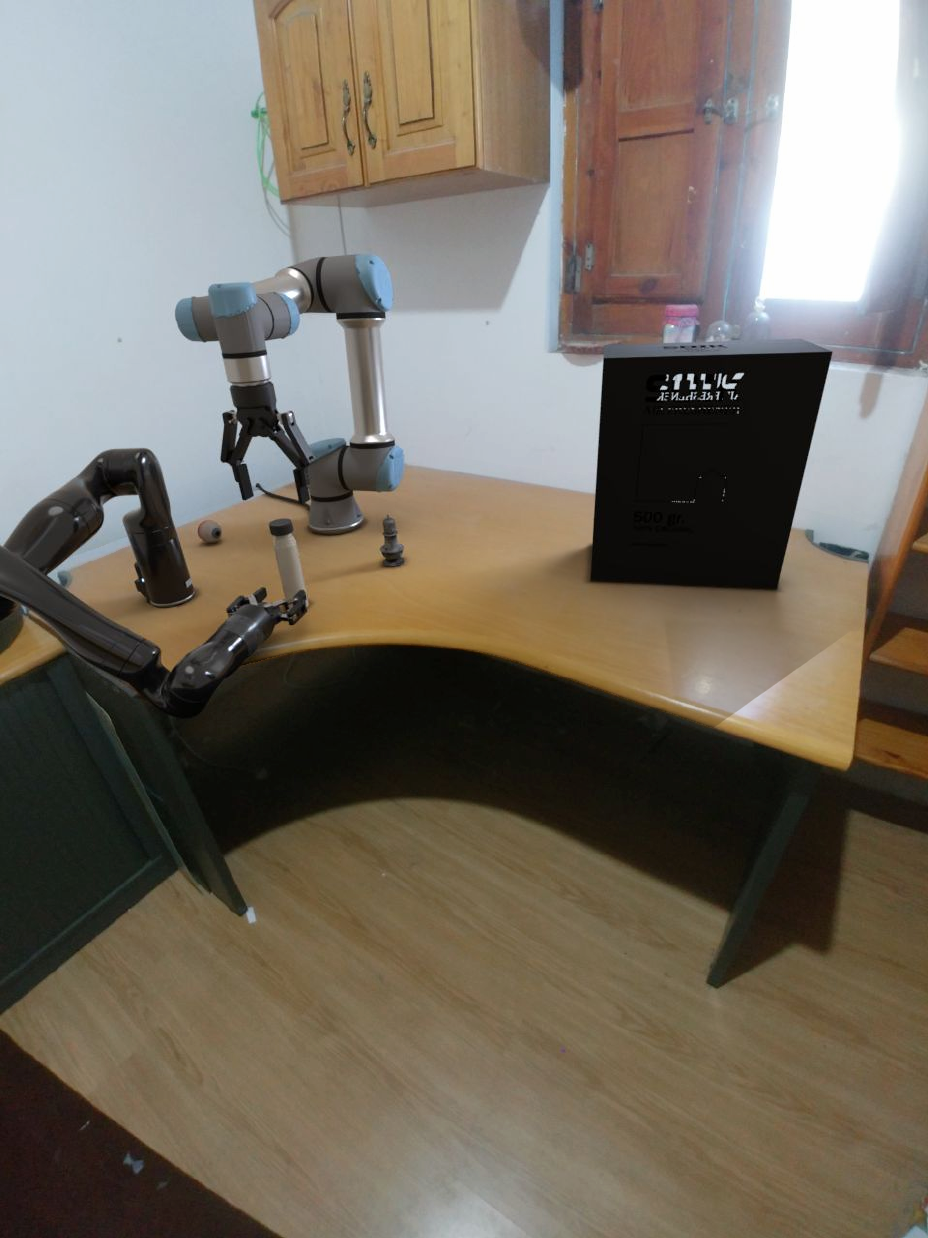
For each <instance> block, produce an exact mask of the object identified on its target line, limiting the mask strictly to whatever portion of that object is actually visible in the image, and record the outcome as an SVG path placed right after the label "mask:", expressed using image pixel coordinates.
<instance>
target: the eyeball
mask: <svg viewBox="0 0 928 1238" xmlns="http://www.w3.org/2000/svg"><path fill="white" fill-rule="evenodd" d="M222 534H223V529H222V527H221V525H220V524H219V523H218V522H217V521H215V520H212V519H207V520H204V521H202V522H201V523H200V524H199V525H198V527H197V535H198V538H199V539H201V540H202V541H203V542H205V543H208V544H213V543H216V542H218V541H219V540H220V539H221V538H222Z"/></svg>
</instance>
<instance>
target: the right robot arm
mask: <svg viewBox="0 0 928 1238" xmlns="http://www.w3.org/2000/svg"><path fill="white" fill-rule="evenodd" d="M207 294H208V295H205V296H195V295H194V296H190V297H184V298H182V299H180V300H179V301H178V302H177V303H176V305H175V310H174V319H175V322H176V325H177V328H178V330H179V332H180V334H181V335H182V336H183V337H184V338H186V340H188V341H191V342H197V343H198V342H202V343H207V342H218V343H219V346H220V350H221V357H222V361H223V366H224V371H225V376H226V380H227V382H228V383H230V384H231V385H230V387H229V392H230V396H231V401H232V406H233V407H234V408H236V411H235V410H234V409H230V410H227V411H224V412H222V413H221V416H222V422H223V431H222V439H221V447H220V449H221V450H220V456H219V457H220V458H219V459H220V462H221V463H222V464H225V463H226V464H228V465H229V466H230V467H231V469H232V474H233V478H234V481H235V482H236V483H238V487H239V492H240V495H241V496H240V497H241V500H242V501H248V500H250V499H252V498H253V497H255V495H254V490H253V486H252V483H251V482H252V481H251V477H250V473H249V469H248V464H247V463H244V462H245V460H244V458H245V457H246V454H247V451H248V449H249V446H250V444H251V442H252V439H253V438H257V437H261V438H268V439H269V440H270V441H272V442H274V443H275V445H276V446H277V447H278V448H279V449H280V451H281V452H282V453H283V454H284V455H285V456H286V458H287V459H288V460H289V462H290V463H291V464H292V465H293V466H294V467H295V468H294V469H292V474H293V479H294V485H295V490H296V495H297V499H295V498H291V497H287V496H283V495H280V494H276V493H274V492H273V493H272V492H270V491H268V490H266V489H265V488H263V487H262V486H261V484H260V483H259V482H256V483H255V487H256V488H258V489H259V491H260V492H262V493H264V494H265V495H267V496H270V497H272V498H276V499H280V500H283V501H288V502H291V503H295V504H298V505H302V506H304V507H306V508H307V509H308V510H309V513H308V521H307V524H308V528H309V529H308V530H310V531H311V532H312V533H314V534H317V535H323V536H324V535H325V536H327V535H329V536H331V535H339V534H340V535H341V534H345V533H350V532H353V531H355V530H357V529H359V528H361V527H362V526H363V525H364V523H365V519H364V514H363V512H362V510H361V508H360V505H359V504H358V501H357V500H356V498H355V495H354V492H355V491H356V492H376V493H385V492H387V493H388V492H389V493H391V492H393V491H395V490H397V489H398V487H399V486H400V484H401V482H402V479H403V476H404V472H405V460H406V458H405V453H404V450H403V448H402V447H401V446H399V445H396V440H395V436H394V435H393V434H392V433H390V431H389V423H388V413H387V412H388V411H387V399H386V388H385V387H386V386H385V385H386V383H385V372H384V361H383V346H382V335H381V334H382V333H381V327H382V325H384V323H385V322H386V320H387V317H386V316H387V315H386V312H389V311H390V310H392V308H393V305H394V289H393V283H392V279H391V275H390V273H389V270H388V268H387V266H386V264H385V263H384V261H383V259H381V258H380V257H379V256H378V255H376V254H371V253H355V254H345V255H332V256H319V257H313V258H309V259H307V260H304V261H301V262H298V263H295V264H293V265H289V266H287V267H283V268H281V269H279V270H278V271H277V272H276V273H275V274H274V275H273V276H272V277H267V278H264V279H261V280H257V281H254V282H250V281H239V282H224V283H213V284H210V285H209V286H208V288H207ZM303 314H335V318H336V322H337V323H338V324H339V326H340V327H342V329H343V334H344V343H345V353H346V360H347V361H346V363H347V373H348V381H349V393H350V401H351V402H350V403H351V412H352V413H351V414H352V421H353V431H354V433H353V435H352V436H351V437H350V438H349V440H348V441H349V445H348V444H347V441H346V439H345V438H342V437H334V438H328V439H323V440H318V441H315V442H313V443H309V444H308V442H307V440H306V438H305V436H304V434H303V433H302V430H301V429H300V428H299V425H298V424H297V420H296V416H295V412H294V411H292V410H288V411H285V412H280V411H279V409H278V408H277V401H278V400H277V395H276V390H275V385H274V383H273V382H272V381H271V379H272V377H273V376H272V375H273V374H272V369H271V365H270V361H269V356H268V350H267V345H266V342H268V341H273V340H278V339H281V340H283V339H286V338H288V337H290V336H292V335H293V334H295V333H296V332H297V331H298V328H299V326H300V323H301V322H300V321H301V315H303ZM238 423H239V424H240V425H241V428H240V431H239V432H238V425H239V424H238ZM281 425H282V426H281ZM282 427H283V428H282ZM237 434H238V439H237ZM309 501H310V504H308V503H307V502H309Z"/></svg>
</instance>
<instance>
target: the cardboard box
mask: <svg viewBox="0 0 928 1238" xmlns="http://www.w3.org/2000/svg"><path fill="white" fill-rule="evenodd" d="M833 353H834V352H833V350H830V349H827V348H826V347H825V348H824V347H822V346H821V345H818V344H815V343H813V342H810V341H808V340H805V339H802V338H783V339H782V338H781V339H779V338H777V339H776V338H775V339H749V340H747V339H746V340H723V341H722V340H720V341H719V340H718V341H689V342H687V341H685V342H683V341H682V342H657V343H654V342H653V343H627V344H625V343H624V344H623V343H621V344H604V345H603V359H602V362H603V363H602V375H601V389H600V390H601V392H600V409H599V424H598V425H599V426H598V427H599V428H598V442H597V457H596V458H597V459H596V460H597V461H596V475H595V493H594V496H595V497H594V508H593V509H594V510H593V525H592V527H593V528H592V541H591V557H590V558H591V560H590V575H589V576H590V577H589V580H590V582H603V583H622V584H623V583H625V584H626V583H628V584H645V585H647V584H648V585H669V586H670V585H671V586H693V587H712V588H714V587H715V588H734V589H735V588H737V589H755V590H757V589H758V590H759V589H760V590H778V586H779V582H780V577H781V574H782V570H783V565H784V561H785V556H786V553H787V548H788V543H789V539H790V536H791V531H792V526H793V522H794V519H795V513H796V510H797V505H798V501H799V497H800V493H801V489H802V484H803V480H804V476H805V471H806V467H807V464H808V463H807V462H808V458H809V455H810V450H811V446H812V442H813V437H814V434H815V430H816V425H817V421H818V417H819V411H820V407H821V404H822V400H823V399H822V398H823V394H824V390H825V386H826V381H827V378H828V374H829V369H830V366H831V360H832V356H833ZM738 374H742V376H741V377H740V378H735V376H736V375H738ZM678 375H681V379H680V380H679V384H678V388H675V385H676V379H675V377H676V376H678ZM689 375H693V380H692V381H691V379H688V376H689ZM702 375H704V379H702ZM719 378H720V382H719ZM724 378H725V382H724ZM723 382H724V385H730V384H731V385H734V388H725V387H724V386H723ZM691 383H692V385H695V388H691ZM705 385H710V388H704V386H705ZM662 387H666V389H662Z"/></svg>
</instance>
